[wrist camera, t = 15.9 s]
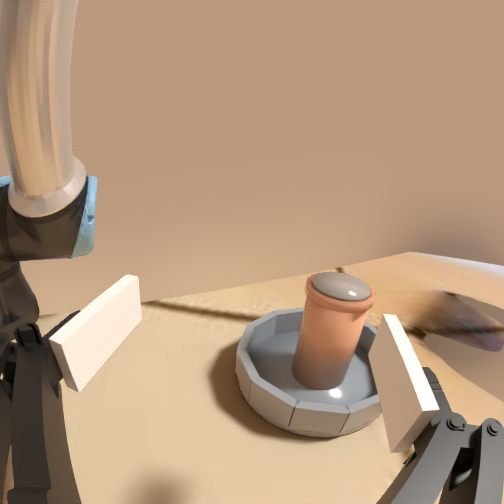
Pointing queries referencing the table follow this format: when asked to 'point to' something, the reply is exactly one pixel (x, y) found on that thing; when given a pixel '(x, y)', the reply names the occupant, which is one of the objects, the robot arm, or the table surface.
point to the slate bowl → (294, 393)
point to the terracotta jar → (330, 328)
